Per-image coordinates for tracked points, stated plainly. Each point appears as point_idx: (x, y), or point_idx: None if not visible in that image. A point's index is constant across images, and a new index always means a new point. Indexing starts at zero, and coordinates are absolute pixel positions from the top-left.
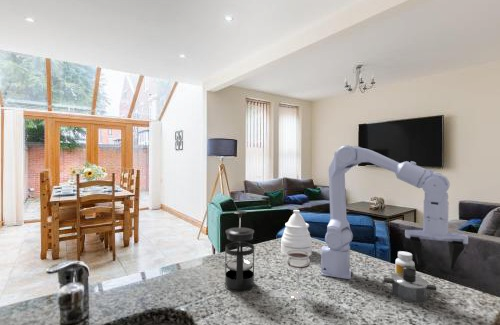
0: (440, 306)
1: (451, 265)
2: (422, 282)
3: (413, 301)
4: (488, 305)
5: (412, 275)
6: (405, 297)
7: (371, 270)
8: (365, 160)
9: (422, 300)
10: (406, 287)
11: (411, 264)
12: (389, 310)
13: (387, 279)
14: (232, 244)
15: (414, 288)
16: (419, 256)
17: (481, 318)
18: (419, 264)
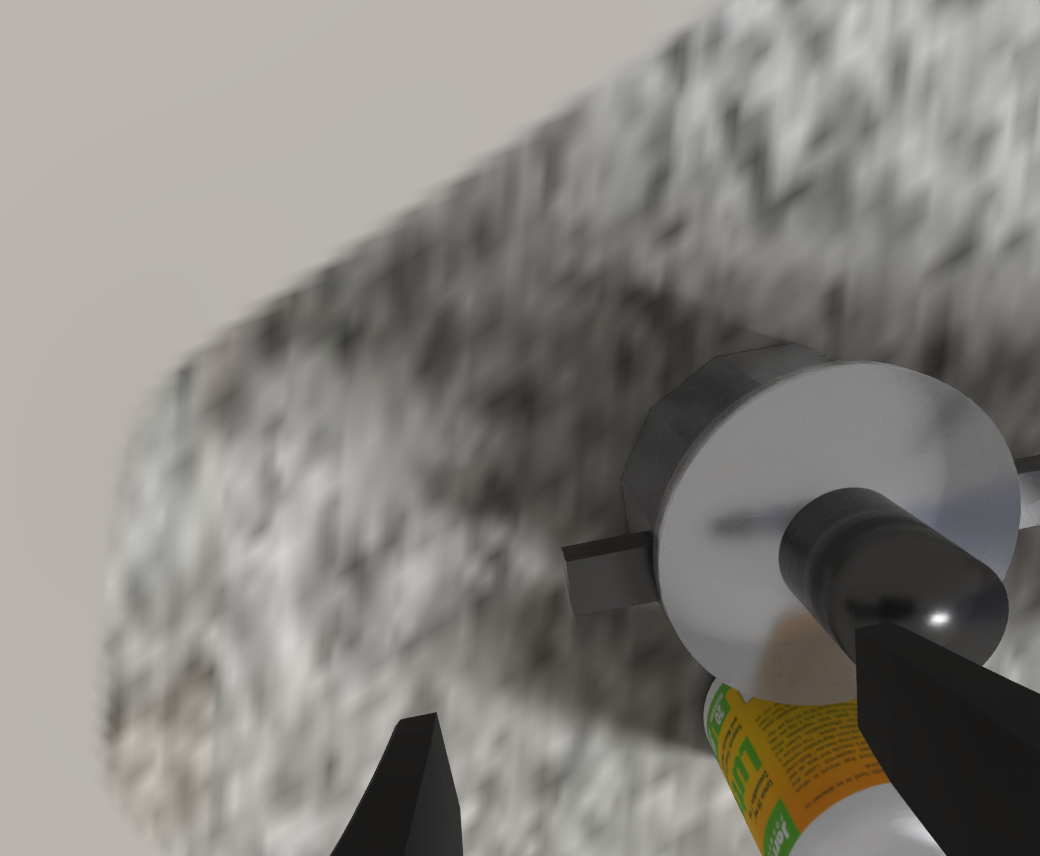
0: (519, 416)
1: (425, 746)
2: (711, 548)
3: (742, 356)
4: (151, 663)
5: (859, 532)
6: (820, 353)
7: None
8: None
9: (668, 405)
10: (876, 362)
11: (838, 839)
12: (962, 59)
13: (1033, 494)
14: None
15: (799, 373)
16: (992, 697)
17: (213, 377)
18: (878, 629)
